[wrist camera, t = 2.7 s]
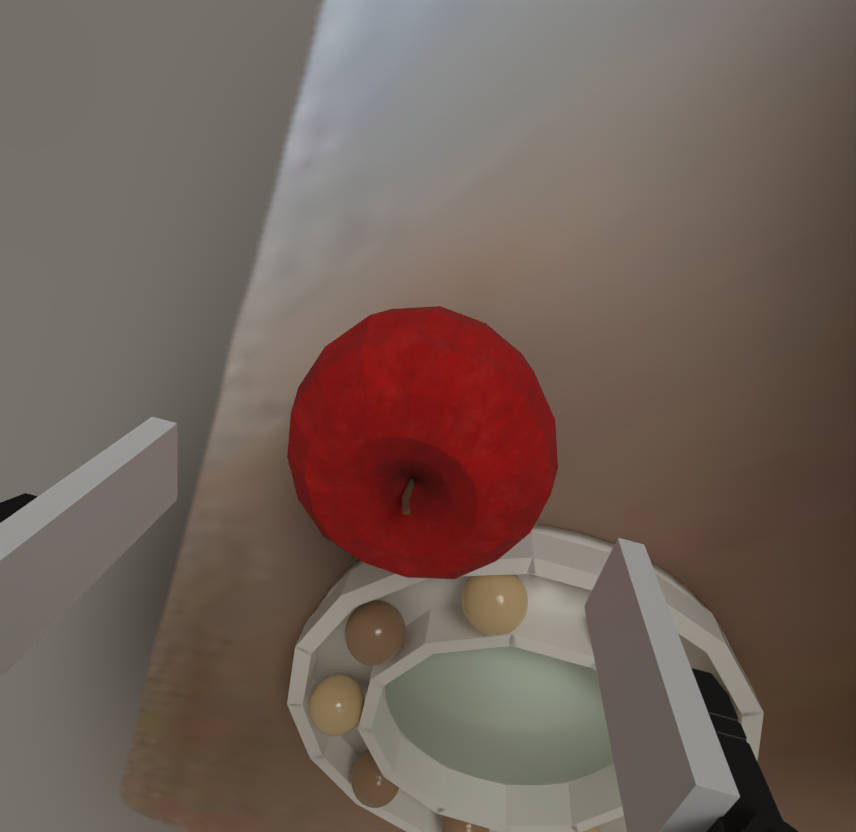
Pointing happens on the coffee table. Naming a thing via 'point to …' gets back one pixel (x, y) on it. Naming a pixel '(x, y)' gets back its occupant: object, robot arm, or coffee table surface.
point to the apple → (422, 443)
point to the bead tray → (481, 690)
